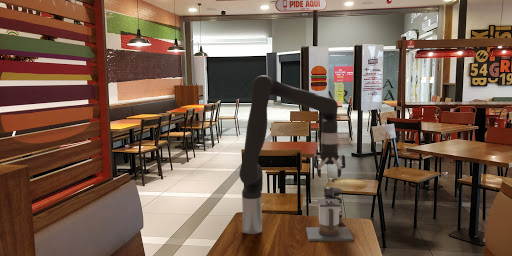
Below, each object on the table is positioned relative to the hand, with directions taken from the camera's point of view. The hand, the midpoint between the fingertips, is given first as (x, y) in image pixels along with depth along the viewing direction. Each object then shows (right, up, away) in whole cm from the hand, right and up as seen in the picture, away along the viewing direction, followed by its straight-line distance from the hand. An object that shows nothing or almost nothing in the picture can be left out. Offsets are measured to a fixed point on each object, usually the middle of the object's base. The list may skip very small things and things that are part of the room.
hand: (329, 177), depth 185 cm
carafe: (0, -26, +2) cm, 27 cm away
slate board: (0, -28, +3) cm, 28 cm away
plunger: (0, -20, +2) cm, 20 cm away
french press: (+5, -26, +20) cm, 33 cm away
